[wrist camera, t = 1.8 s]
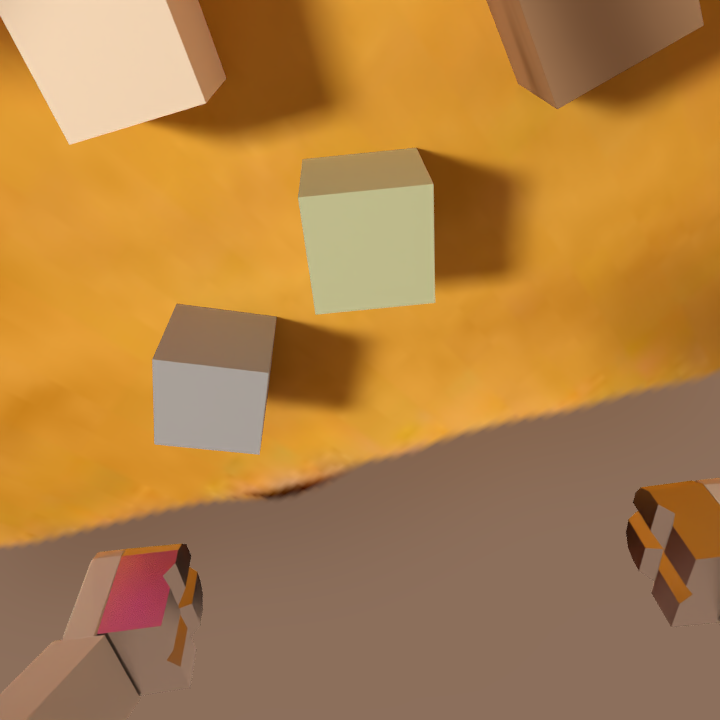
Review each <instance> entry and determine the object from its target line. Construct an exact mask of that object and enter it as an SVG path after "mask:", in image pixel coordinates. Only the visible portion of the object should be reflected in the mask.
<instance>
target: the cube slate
mask: <svg viewBox="0 0 720 720" xmlns="http://www.w3.org/2000/svg"><path fill="white" fill-rule="evenodd" d="M276 319H277V317H275V316H267V315H260V314H252V313H244V312H237V311H229V310H221V309H213V308H206V307H198V306H190V305H183V304H176V307H175V309H174V311H173V314H172V316H171V318H170V320H169V323H168V325H167V327H166V330H165V332H164V334H163V336H162V339H161V341H160V343H159V346H158V348H157V350H156V352H155V355H154V357H153V359H152V360H153V402H154V443H155V444H157V445H167V446H177V447H188V448H198V449H208V450H218V451H229V452H239V453H249V454H260V447H261V440H262V432H263V425H264V418H265V411H266V403H267V396H268V388H269V379H270V371H271V362H272V353H273V345H274V336H275V327H276Z"/></svg>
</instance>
